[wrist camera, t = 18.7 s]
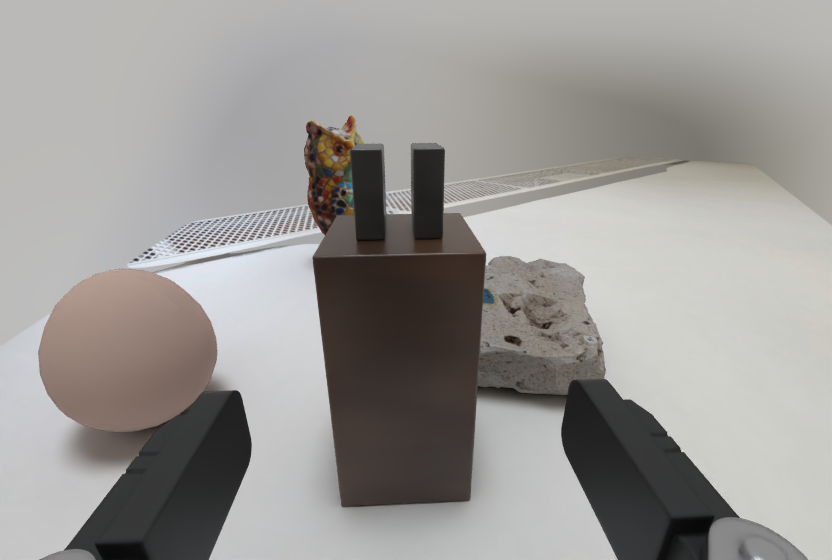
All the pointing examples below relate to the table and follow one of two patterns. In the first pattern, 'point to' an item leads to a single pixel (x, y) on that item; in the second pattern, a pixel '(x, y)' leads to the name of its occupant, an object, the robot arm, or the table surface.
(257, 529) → the table surface
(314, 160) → the figurine
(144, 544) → the robot arm
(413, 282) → the knife block
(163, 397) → the egg
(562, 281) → the stone
